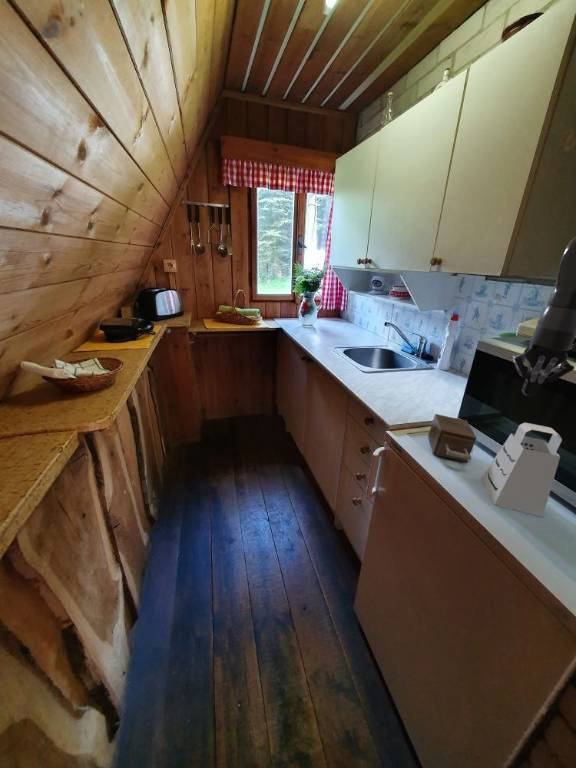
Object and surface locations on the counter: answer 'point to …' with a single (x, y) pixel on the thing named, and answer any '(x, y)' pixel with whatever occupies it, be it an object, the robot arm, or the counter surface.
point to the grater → (524, 471)
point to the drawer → (455, 447)
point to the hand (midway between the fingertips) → (527, 395)
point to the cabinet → (448, 430)
